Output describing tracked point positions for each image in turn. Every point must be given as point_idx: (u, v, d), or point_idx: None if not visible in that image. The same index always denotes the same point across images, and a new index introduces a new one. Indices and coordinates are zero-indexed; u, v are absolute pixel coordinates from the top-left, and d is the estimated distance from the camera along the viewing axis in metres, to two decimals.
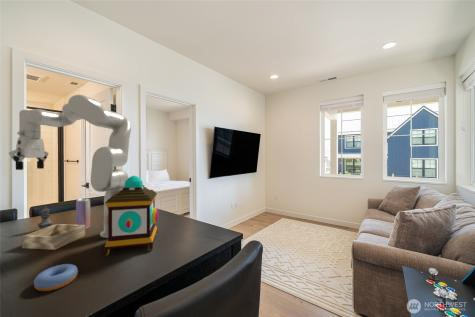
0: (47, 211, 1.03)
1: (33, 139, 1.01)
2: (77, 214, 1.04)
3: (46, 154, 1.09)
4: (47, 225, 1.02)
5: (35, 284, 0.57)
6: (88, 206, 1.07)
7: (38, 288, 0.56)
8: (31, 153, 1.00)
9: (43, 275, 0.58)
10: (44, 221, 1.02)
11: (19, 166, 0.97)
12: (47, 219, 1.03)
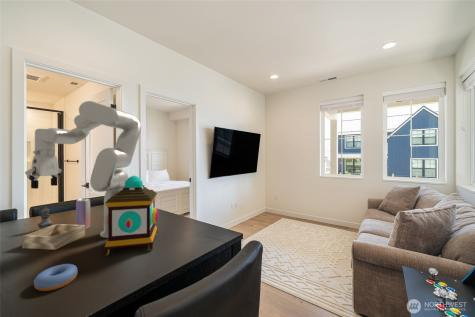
0: (47, 211, 1.03)
1: (48, 157, 1.02)
2: (77, 214, 1.04)
3: (59, 171, 1.10)
4: (47, 225, 1.02)
5: (35, 284, 0.57)
6: (88, 206, 1.07)
7: (38, 288, 0.56)
8: (46, 171, 1.01)
9: (43, 275, 0.59)
10: (44, 221, 1.02)
11: (34, 185, 0.97)
12: (47, 219, 1.03)
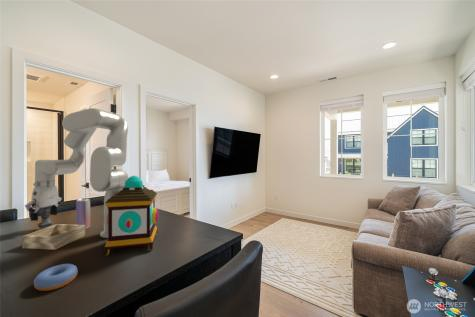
0: (47, 211, 1.03)
1: (48, 188, 1.02)
2: (77, 214, 1.04)
3: (59, 199, 1.10)
4: (47, 225, 1.02)
5: (35, 284, 0.57)
6: (88, 206, 1.07)
7: (38, 288, 0.57)
8: (46, 203, 1.01)
9: (43, 275, 0.59)
10: (44, 221, 1.02)
11: (34, 217, 0.97)
12: (47, 219, 1.03)
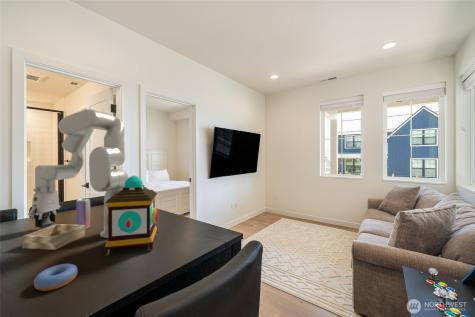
0: None
1: (48, 194, 1.02)
2: (77, 214, 1.04)
3: None
4: (47, 225, 1.02)
5: (35, 284, 0.57)
6: (88, 206, 1.07)
7: (38, 288, 0.57)
8: (46, 208, 1.01)
9: (43, 275, 0.59)
10: (44, 221, 1.02)
11: (38, 224, 0.99)
12: (47, 219, 1.03)
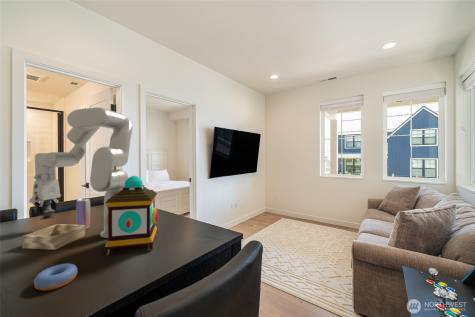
0: None
1: (49, 181, 1.02)
2: (77, 214, 1.04)
3: (59, 195, 1.09)
4: (48, 213, 1.02)
5: (35, 283, 0.57)
6: (88, 206, 1.07)
7: (38, 287, 0.57)
8: (47, 195, 1.01)
9: (43, 275, 0.59)
10: (45, 209, 1.02)
11: (40, 211, 0.99)
12: (48, 207, 1.02)
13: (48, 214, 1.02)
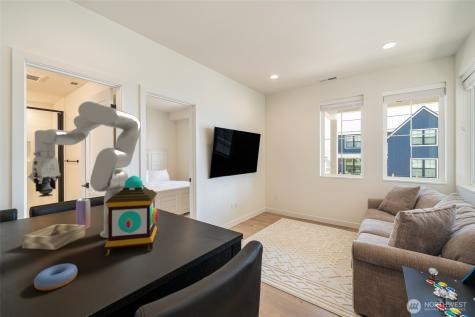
0: None
1: (48, 159, 1.02)
2: (77, 214, 1.04)
3: (58, 174, 1.09)
4: (47, 190, 1.01)
5: (35, 283, 0.57)
6: (88, 206, 1.07)
7: (38, 287, 0.57)
8: (47, 173, 1.01)
9: (43, 275, 0.59)
10: (44, 186, 1.01)
11: (39, 188, 0.99)
12: (47, 184, 1.02)
13: (47, 191, 1.01)
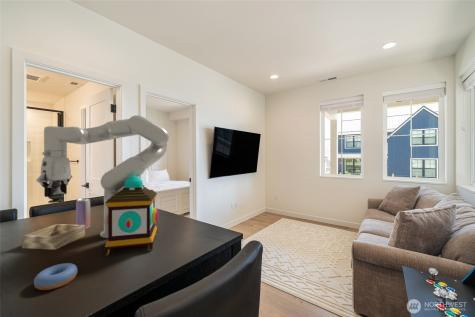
0: None
1: (59, 159, 0.88)
2: (77, 214, 1.04)
3: (69, 177, 0.96)
4: (58, 195, 0.88)
5: (35, 283, 0.57)
6: (88, 206, 1.07)
7: (38, 287, 0.57)
8: (57, 175, 0.87)
9: (43, 274, 0.59)
10: (54, 191, 0.88)
11: (48, 193, 0.86)
12: (58, 189, 0.89)
13: (57, 197, 0.88)
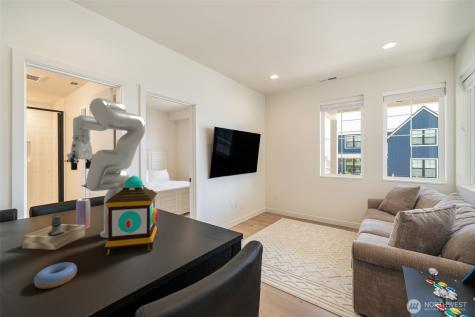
0: (58, 218, 0.90)
1: (84, 143, 1.14)
2: (77, 214, 1.04)
3: (92, 156, 1.23)
4: (58, 234, 0.89)
5: (35, 282, 0.58)
6: (88, 206, 1.07)
7: (38, 286, 0.57)
8: (83, 155, 1.13)
9: (43, 273, 0.60)
10: (55, 230, 0.89)
11: (74, 167, 1.10)
12: (58, 227, 0.90)
13: None
